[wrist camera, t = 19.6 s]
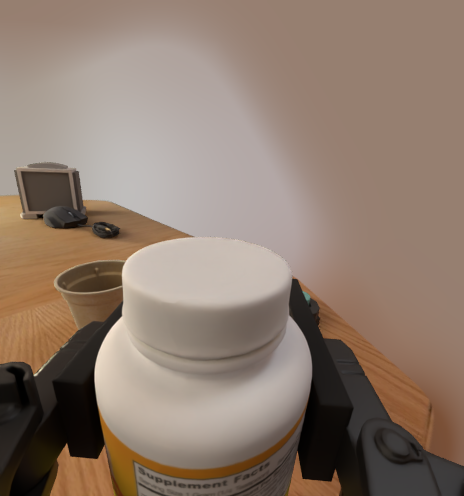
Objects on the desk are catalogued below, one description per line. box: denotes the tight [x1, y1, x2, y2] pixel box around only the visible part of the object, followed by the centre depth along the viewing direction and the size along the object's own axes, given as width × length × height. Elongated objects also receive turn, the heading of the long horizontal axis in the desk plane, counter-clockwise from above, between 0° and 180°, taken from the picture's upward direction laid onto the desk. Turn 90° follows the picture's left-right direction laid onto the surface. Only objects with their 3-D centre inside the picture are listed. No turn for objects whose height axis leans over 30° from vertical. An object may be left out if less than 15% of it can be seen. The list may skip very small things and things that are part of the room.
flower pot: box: [54, 260, 126, 330], centre depth 32 cm, size 9×9×9 cm
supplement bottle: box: [95, 237, 312, 496], centre depth 8 cm, size 6×6×10 cm
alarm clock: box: [14, 162, 86, 219], centre depth 89 cm, size 18×13×18 cm
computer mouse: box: [43, 206, 120, 238], centre depth 76 cm, size 10×32×6 cm, turn 65°
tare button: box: [303, 291, 310, 305], centre depth 37 cm, size 3×3×2 cm
